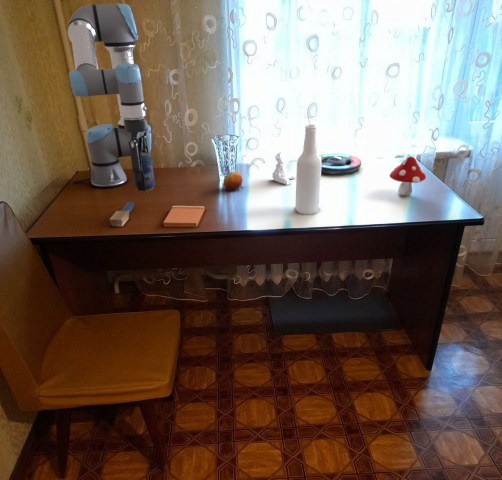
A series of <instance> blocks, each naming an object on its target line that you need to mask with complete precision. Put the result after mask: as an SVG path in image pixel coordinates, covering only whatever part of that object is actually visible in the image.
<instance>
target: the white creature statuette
mask: <svg viewBox="0 0 502 480" xmlns="http://www.w3.org/2000/svg"><path fill="white" fill-rule="evenodd" d="M274 157H275V161H276V162H277V164H276V165H275V169H274V171H273V172H272V175H271V176H272V177H271V178H272V179H273V180H274V182H276V183H280V184H283V185H289V184H290V181H291V180H294V174H293V173H291V172H288V171H287V166H286V162H287V159H286V156H285V154H284V152H283V151H280V152H278V153H277V154H276V155H275V156H274Z"/></svg>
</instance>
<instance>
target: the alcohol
mask: <svg viewBox="0 0 502 480" xmlns="http://www.w3.org/2000/svg"><path fill="white" fill-rule="evenodd" d="M317 129H318V126H317V125H316V124H306V125H305V129H304V141H303V143H304V144H303V151H302V153H301V154H300V156H299V157H298V158H297V162H296V179H295V180H296V181H295V210H296V212H298V213H299V214H302V215H303V214H304V215H311V214H312V215H313V214H315V213H317V212H318V211H319V209H320V194H321V180H322V179H321V178H322V172H321V166H322V163H321V158H320V157H319V155H320V154H319V153H318V151H317V150H318V149H317V131H318V130H317Z"/></svg>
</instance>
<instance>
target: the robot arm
mask: <svg viewBox="0 0 502 480" xmlns="http://www.w3.org/2000/svg"><path fill="white" fill-rule="evenodd" d="M66 30H67V37H68V39H69V41H70V42H71V45H72V47H71V48H72V53H73V61H74V70H72V71H69V73H68V77H69V82H70V87H71V90H72V94H73V96H74V97H84V98H87V97H94V96H110V95H116V98H117V104H118V109H119V116H120V119H119V120H118V122H117V126H118V127H114V125H113V124H112V123H103V124H98V125H94V126H91V127H90V128H88V129H87V130H86V132H85V139H86V145H87V149H88V152H89V157H90V162H91V173H90V177H86V178H82V179H78V180H73V181H72V182H73V184H78V183H82V182H87V181H90V182H91V186H93V187H95V188H99V189H112V188H117V187H121V186H123V185H125V184H126V183H127V182H128V178H127V175H126V173H125V171H124V169H123V166H122V165H121V162H120V158H124V157H130V161H131V168H132V169H131V171H132V173H133V172H135V173H136V179H137V185H138V189H137V191H138V192H140V191H141V192H144V191H145V192H146V184H145V177H144V171H142V153H144V152H148V153H149V155H150V156H151V151H152V130H151V129H152V128H151V126H150V124H148V119H147V118H146V116H147V114H146V113H147V112H146V110H147V107H146V106H145V100H144V92H143V84H142V75H141V70H140V66H139V65H138V64H136V63H135V61H134V55H133V50H134V48H135V47H136V41H138V40H139V36H138V35H139V34H138V30H137V25H136V22H135V19H134V14H133V11H132V9H131V7H130V5H128V4H126V3H118V2H116V3H101V4H99V3H98V4H86V5H82V6H81V7H79V8H78V9H76V10H75V11H74V12H73V14H72V15H71V16H70V18H69V19H68V23H67V28H66ZM97 42H99V43H100V42H103V45H104V48H105V49H106V50H107V51H108V52H109V56H110V62H111V68H102V69H99V65H98V58H97V53H96V46H95V43H97Z"/></svg>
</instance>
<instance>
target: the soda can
mask: <svg viewBox="0 0 502 480" xmlns="http://www.w3.org/2000/svg"><path fill="white" fill-rule="evenodd" d="M142 171H144V177H145V184H146V191H151V190H154V188H155V185H156V182H155V175H154V167H153V161H152V157H151V154H150V155H149V153H148V152H144V153H142ZM132 173H133V180H134V185H135V188H136V189H137V190H138V185H137V179H136V173H135V172H132ZM146 191H145V192H146Z"/></svg>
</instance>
